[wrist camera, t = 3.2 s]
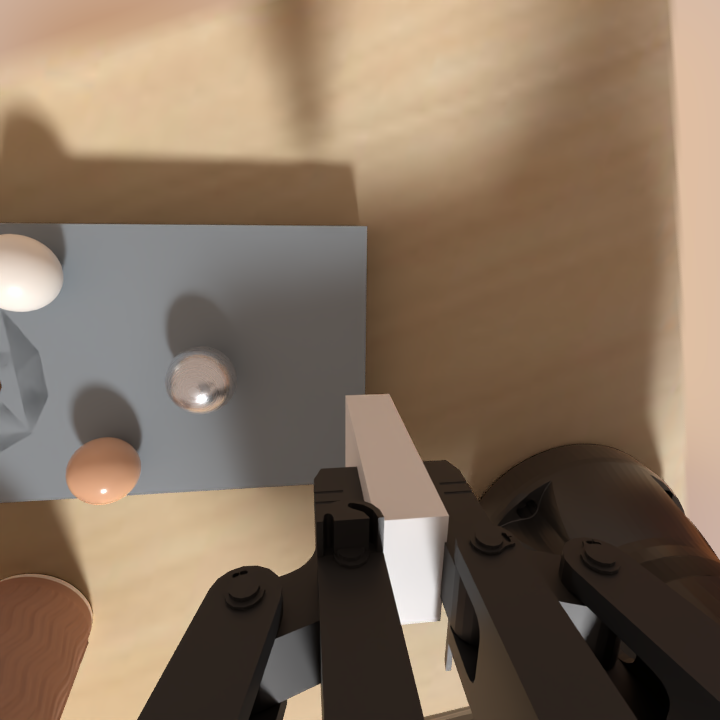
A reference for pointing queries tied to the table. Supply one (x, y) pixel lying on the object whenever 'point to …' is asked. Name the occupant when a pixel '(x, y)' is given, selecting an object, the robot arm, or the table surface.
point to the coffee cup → (40, 645)
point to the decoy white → (27, 274)
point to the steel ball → (200, 380)
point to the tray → (172, 336)
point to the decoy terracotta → (103, 470)
